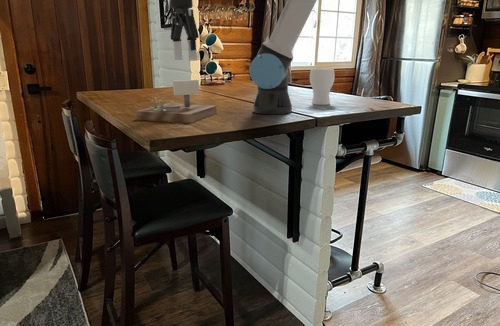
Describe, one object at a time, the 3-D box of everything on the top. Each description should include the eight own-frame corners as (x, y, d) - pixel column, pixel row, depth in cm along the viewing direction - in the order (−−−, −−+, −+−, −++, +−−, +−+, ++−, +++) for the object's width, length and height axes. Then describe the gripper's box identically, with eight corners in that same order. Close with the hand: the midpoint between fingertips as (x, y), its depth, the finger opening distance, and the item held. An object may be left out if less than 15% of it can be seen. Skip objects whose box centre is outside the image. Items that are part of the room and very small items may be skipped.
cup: (333, 105, 163) (335, 69, 159) (308, 105, 165) (309, 69, 161) (333, 102, 173) (334, 68, 169) (309, 101, 175) (310, 68, 171)
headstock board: (216, 113, 148) (215, 95, 146) (190, 123, 130) (189, 102, 128) (167, 110, 155) (166, 93, 153) (136, 119, 137) (134, 99, 135)
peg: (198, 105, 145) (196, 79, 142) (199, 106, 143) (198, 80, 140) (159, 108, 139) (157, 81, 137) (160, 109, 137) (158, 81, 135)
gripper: (158, -1, 140) (163, 59, 146) (184, -10, 119) (189, 61, 125) (178, 0, 143) (182, 59, 149) (206, -9, 123) (209, 60, 129)
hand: (185, 60), depth 137 cm, fingers open, 13 cm apart
